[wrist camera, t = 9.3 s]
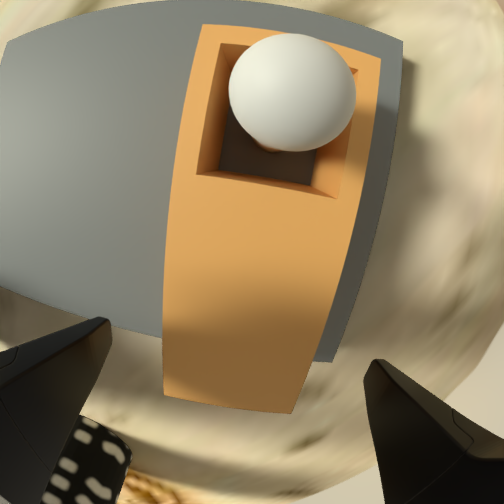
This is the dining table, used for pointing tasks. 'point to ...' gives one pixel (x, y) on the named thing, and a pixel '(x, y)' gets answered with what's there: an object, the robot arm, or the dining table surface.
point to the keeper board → (166, 144)
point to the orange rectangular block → (254, 243)
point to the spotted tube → (88, 467)
